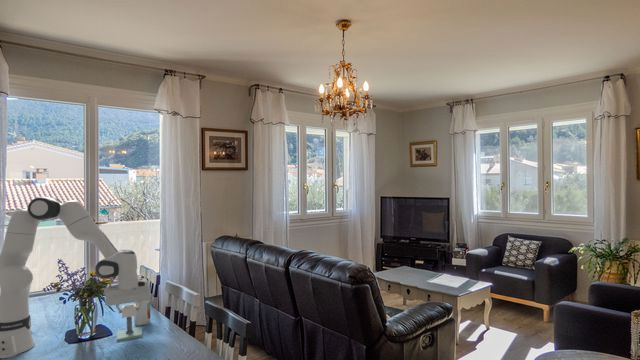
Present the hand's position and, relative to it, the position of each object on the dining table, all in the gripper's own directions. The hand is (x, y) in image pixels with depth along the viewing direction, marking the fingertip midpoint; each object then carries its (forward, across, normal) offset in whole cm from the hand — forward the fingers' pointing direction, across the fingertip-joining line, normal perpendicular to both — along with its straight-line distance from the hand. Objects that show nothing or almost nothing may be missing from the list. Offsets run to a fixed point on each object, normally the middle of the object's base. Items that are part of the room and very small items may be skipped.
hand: (129, 311), depth 194 cm
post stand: (+12, 0, 0) cm, 12 cm away
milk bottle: (+12, +6, +14) cm, 19 cm away
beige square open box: (+2, 0, 0) cm, 2 cm away
